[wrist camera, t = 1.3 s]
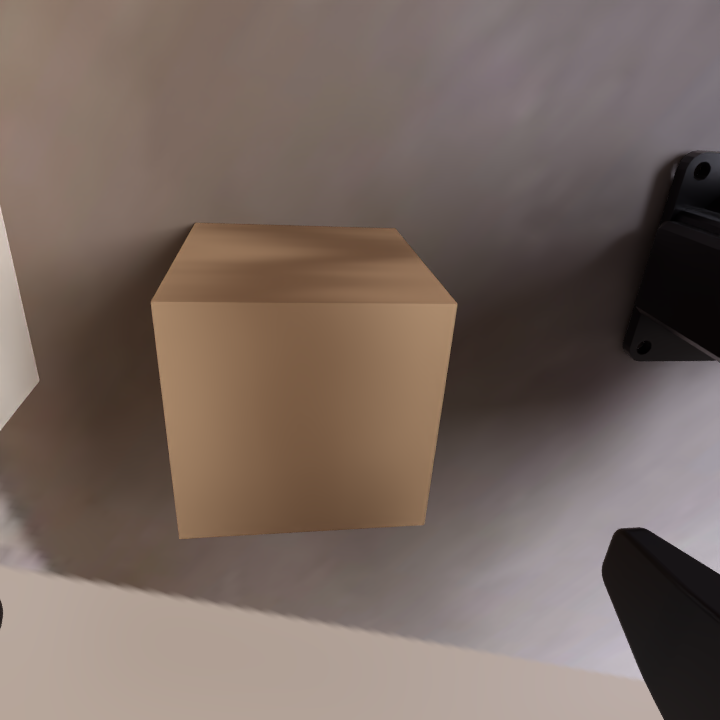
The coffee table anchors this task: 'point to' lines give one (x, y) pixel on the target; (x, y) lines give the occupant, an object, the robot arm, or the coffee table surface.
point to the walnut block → (300, 378)
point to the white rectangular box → (13, 338)
